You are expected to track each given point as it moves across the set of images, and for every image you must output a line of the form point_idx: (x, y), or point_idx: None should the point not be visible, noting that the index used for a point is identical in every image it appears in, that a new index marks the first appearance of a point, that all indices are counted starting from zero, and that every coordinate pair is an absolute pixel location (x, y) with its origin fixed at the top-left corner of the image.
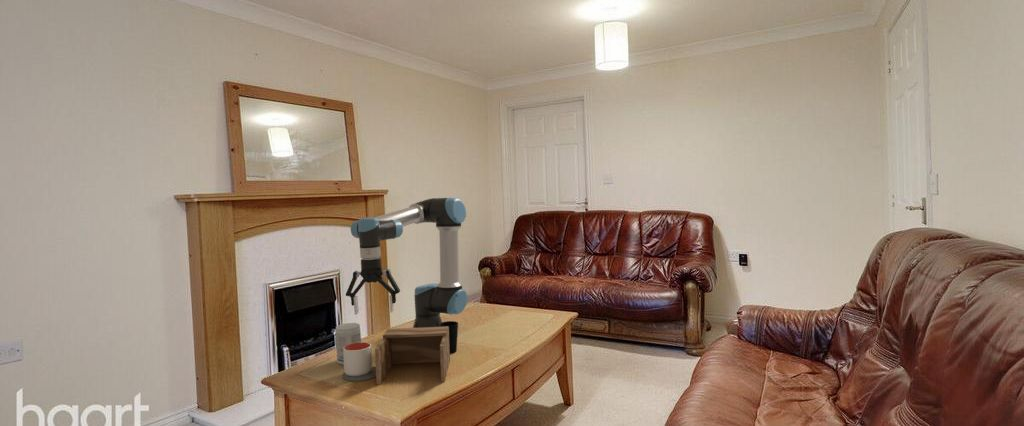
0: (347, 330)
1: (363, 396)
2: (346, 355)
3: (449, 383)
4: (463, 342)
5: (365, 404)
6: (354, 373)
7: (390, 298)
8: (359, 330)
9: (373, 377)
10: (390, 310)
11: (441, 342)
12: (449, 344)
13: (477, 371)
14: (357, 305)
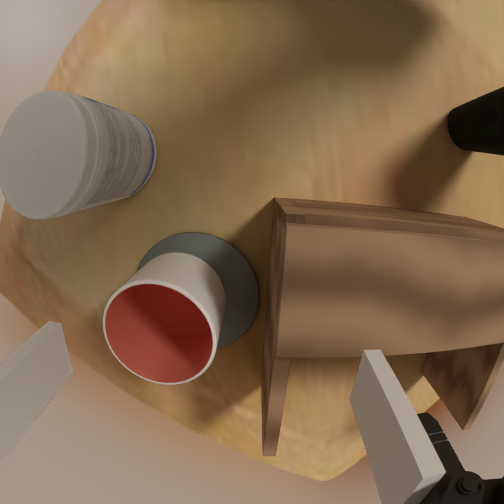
0: (52, 215)
1: (241, 427)
2: (137, 361)
3: None
4: (484, 57)
5: (255, 453)
6: (180, 339)
7: (389, 496)
8: (102, 154)
9: (241, 334)
10: (354, 411)
11: (477, 403)
12: (484, 152)
13: None
14: (30, 376)
